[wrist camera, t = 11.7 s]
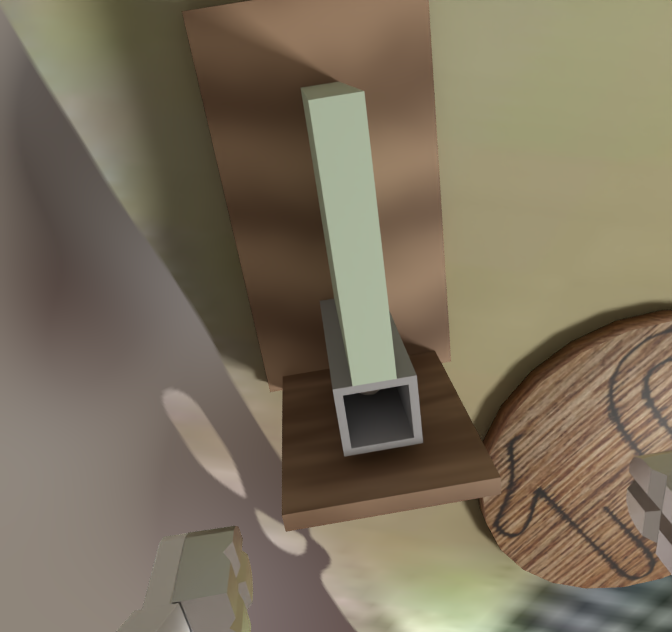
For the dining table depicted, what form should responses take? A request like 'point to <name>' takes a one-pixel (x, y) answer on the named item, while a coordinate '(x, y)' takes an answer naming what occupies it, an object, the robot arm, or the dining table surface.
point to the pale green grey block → (358, 280)
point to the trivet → (583, 455)
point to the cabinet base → (309, 243)
